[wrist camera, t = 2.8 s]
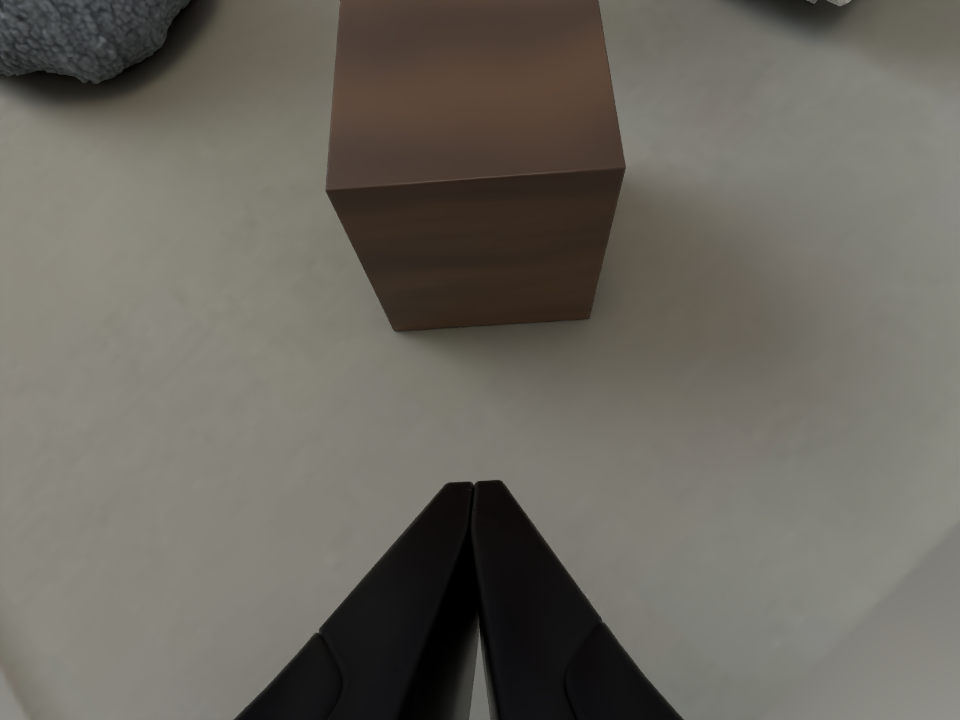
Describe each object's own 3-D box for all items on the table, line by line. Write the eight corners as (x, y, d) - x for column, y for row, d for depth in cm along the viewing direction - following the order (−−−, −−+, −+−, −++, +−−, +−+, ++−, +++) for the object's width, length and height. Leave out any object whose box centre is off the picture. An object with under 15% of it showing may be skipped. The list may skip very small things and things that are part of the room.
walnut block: (589, 319, 23) (626, 167, 15) (393, 331, 24) (324, 190, 16) (570, 161, 26) (592, -38, 18) (397, 174, 27) (340, -14, 19)
